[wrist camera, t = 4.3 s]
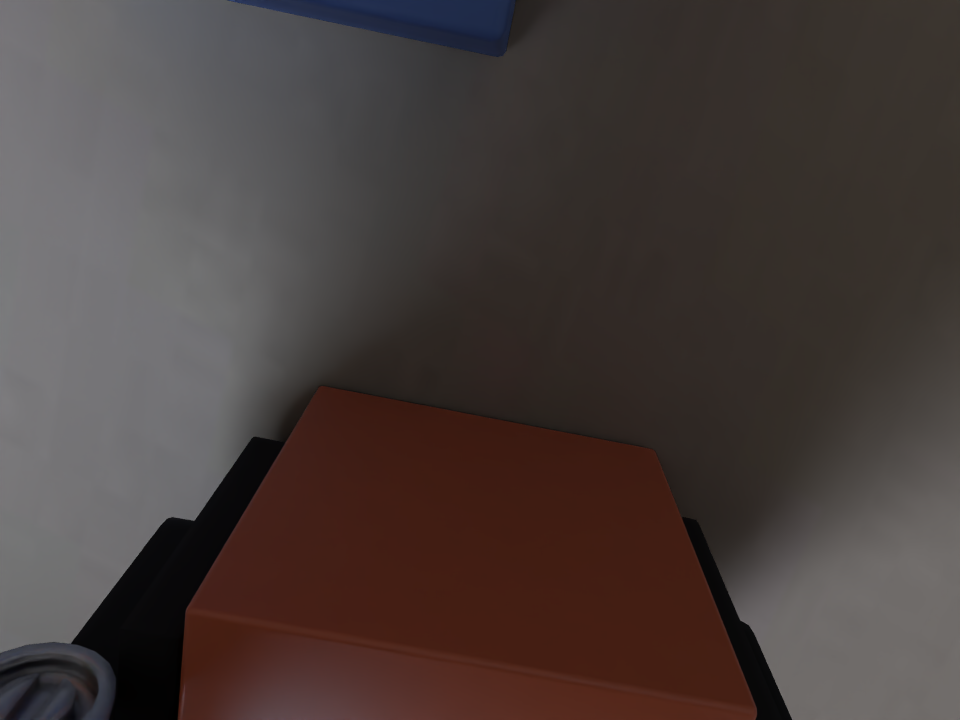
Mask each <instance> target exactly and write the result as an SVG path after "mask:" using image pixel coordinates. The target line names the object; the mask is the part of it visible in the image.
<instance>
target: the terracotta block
mask: <svg viewBox="0 0 960 720" xmlns="http://www.w3.org/2000/svg"><path fill="white" fill-rule="evenodd" d="M756 717H757V708H756V705H755V703H754V700H753V697H752V695H751V692H750V690H749V687H748V685H747V682H746V680H745V677H744V675H743V672H742V670H741V667H740V665H739V662H738V659H737V657H736V654H735V652H734V649H733V647H732V644H731V642H730V639H729V637H728V634H727V632H726V629H725V627H724V624H723V621H722V619H721V616H720V614H719V611H718V609H717V606H716V604H715V601H714V599H713V596H712V594H711V591H710V589H709V586H708V584H707V581H706V578H705V576H704V573H703V571H702V568H701V566H700V563H699V561H698V558H697V556H696V553H695V551H694V548H693V546H692V543H691V540H690V538H689V535H688V533H687V530H686V528H685V525H684V523H683V520H682V518H681V515H680V513H679V510H678V508H677V505H676V503H675V500H674V497H673V495H672V492H671V490H670V487H669V485H668V482H667V480H666V477H665V475H664V472H663V470H662V467H661V465H660V462H659V459H658V457H657V454H656V452H655V451H654V450H653V449H649V448H644V447H639V446H633V445H628V444H623V443H618V442H613V441H607V440H602V439H597V438H592V437H586V436H581V435H576V434H571V433H566V432H560V431H555V430H550V429H545V428H539V427H534V426H529V425H524V424H519V423H513V422H508V421H503V420H498V419H493V418H487V417H482V416H477V415H472V414H466V413H461V412H456V411H451V410H446V409H440V408H435V407H430V406H425V405H420V404H414V403H409V402H404V401H399V400H393V399H388V398H383V397H378V396H373V395H367V394H362V393H357V392H352V391H346V390H341V389H336V388H331V387H326V386H320V387H319V388H318V389H317V391H316V393H315V394H314V396H313V398H312V399H311V401H310V403H309V404H308V406H307V408H306V409H305V411H304V413H303V414H302V416H301V418H300V419H299V421H298V423H297V424H296V426H295V428H294V429H293V431H292V433H291V434H290V436H289V438H288V440H287V441H286V443H285V445H284V446H283V448H282V450H281V451H280V453H279V455H278V456H277V458H276V460H275V461H274V463H273V465H272V466H271V468H270V470H269V471H268V473H267V475H266V476H265V478H264V480H263V481H262V483H261V485H260V486H259V488H258V490H257V491H256V493H255V495H254V496H253V498H252V500H251V502H250V503H249V505H248V507H247V508H246V510H245V512H244V513H243V515H242V517H241V518H240V520H239V522H238V523H237V525H236V527H235V528H234V530H233V532H232V533H231V535H230V537H229V538H228V540H227V542H226V543H225V545H224V547H223V548H222V550H221V552H220V553H219V555H218V557H217V558H216V560H215V562H214V563H213V565H212V567H211V569H210V570H209V572H208V574H207V575H206V577H205V579H204V580H203V582H202V584H201V585H200V587H199V589H198V590H197V592H196V594H195V595H194V597H193V599H192V600H191V602H190V604H189V605H188V607H187V609H186V613H185V627H184V640H183V654H182V667H181V681H180V694H179V708H178V720H755V719H756Z"/></svg>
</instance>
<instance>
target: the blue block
mask: <svg viewBox="0 0 960 720" xmlns="http://www.w3.org/2000/svg"><path fill="white" fill-rule="evenodd" d="M228 1H233V2H238V3H242V4H247V5H252V6H257V7H261V8H266V9H271V10H276V11H281V12H285V13H290V14H295V15H300V16H304V17H309V18H314V19H319V20H323V21H328V22H333V23H338V24H343V25H347V26H352V27H357V28H362V29H366V30H371V31H376V32H381V33H385V34H390V35H395V36H400V37H405V38H409V39H414V40H419V41H424V42H428V43H433V44H438V45H443V46H447V47H452V48H457V49H462V50H467V51H471V52H476V53H481V54H486V55H490V56H495V57H500V56H503V55H504V54H505V52H506V49H507V44H508V39H509V33H510V28H511V23H512V18H513V13H514V7H515V2H516V0H228Z"/></svg>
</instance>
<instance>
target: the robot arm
mask: <svg viewBox="0 0 960 720" xmlns="http://www.w3.org/2000/svg"><path fill="white" fill-rule="evenodd" d="M285 443H286V442H281V441H275V440H270V439H265V438H259V437H253V438H252V439H251V440H250V442H249V443H248V445H247V446H246V448H245V449H244V451H243V452H242V453H241V455H240V456H239V458H238V459H237V461H236V462H235V463H234V465H233V466H232V468H231V469H230V471H229V472H228V474H227V475H226V476H225V478H224V479H223V481H222V482H221V484H220V485H219V487H218V488H217V489H216V491H215V492H214V494H213V495H212V497H211V498H210V500H209V501H208V502H207V504H206V505H205V507H204V508H203V510H202V511H201V512H200V514H199V515H198V517H197V518H196V520H195V521H191V520H185V519H180V518H174V517H171V518H168V519H167V520H166V521H165V522H164V523H163V524H162V525H161V526H160V527H159V529H158V530H157V531H156V532H155V534H154V535H153V536H152V538H151V539H150V540H149V542H148V543H147V544H146V546H145V547H144V548H143V550H142V551H141V552H140V553H139V555H138V556H137V557H136V559H135V560H134V561H133V563H132V564H131V565H130V567H129V568H128V569H127V571H126V572H125V573H124V574H123V576H122V577H121V578H120V580H119V581H118V582H117V584H116V585H115V586H114V588H113V589H112V590H111V592H110V593H109V594H108V595H107V597H106V598H105V599H104V601H103V602H102V603H101V605H100V606H99V607H98V609H97V610H96V611H95V613H94V614H93V615H92V616H91V618H90V619H89V620H88V622H87V623H86V624H85V626H84V627H83V628H82V630H81V631H80V632H79V634H78V635H77V636H76V637H75V639H74V640H73V641H72V643H71V644H67V643H57V642H50V643H40V644H30V645H25V646H22V647H19V648H15V649H12V650H8V651H5V652H2V653H0V720H178V708H179V694H180V681H181V667H182V654H183V640H184V627H185V613H186V609H187V607H188V605H189V604H190V602H191V600H192V599H193V597H194V595H195V594H196V592H197V590H198V589H199V587H200V585H201V584H202V582H203V580H204V579H205V577H206V575H207V574H208V572H209V570H210V569H211V567H212V565H213V563H214V562H215V560H216V558H217V557H218V555H219V553H220V552H221V550H222V548H223V547H224V545H225V543H226V542H227V540H228V538H229V537H230V535H231V533H232V532H233V530H234V528H235V527H236V525H237V523H238V522H239V520H240V518H241V517H242V515H243V513H244V512H245V510H246V508H247V507H248V505H249V503H250V502H251V500H252V498H253V496H254V495H255V493H256V491H257V490H258V488H259V486H260V485H261V483H262V481H263V480H264V478H265V476H266V475H267V473H268V471H269V470H270V468H271V466H272V465H273V463H274V461H275V460H276V458H277V456H278V455H279V453H280V451H281V450H282V448H283V446H284V445H285ZM681 518H682V520H683V523H684V525H685V528H686V530H687V533H688V535H689V538H690V540H691V543H692V546H693V548H694V551H695V553H696V556H697V558H698V561H699V563H700V566H701V568H702V571H703V573H704V576H705V578H706V581H707V584H708V586H709V589H710V591H711V594H712V596H713V599H714V601H715V604H716V606H717V609H718V611H719V614H720V616H721V619H722V621H723V624H724V627H725V629H726V632H727V634H728V637H729V639H730V642H731V644H732V647H733V649H734V652H735V654H736V657H737V659H738V662H739V665H740V667H741V670H742V672H743V675H744V677H745V680H746V682H747V685H748V687H749V690H750V692H751V695H752V697H753V700H754V703H755V705H756V708H757V717H756V719H755V720H792V718H791V716H790V714H789V712H788V709H787V707H786V705H785V703H784V700H783V698H782V696H781V694H780V691H779V689H778V687H777V685H776V682H775V680H774V678H773V675H772V673H771V671H770V669H769V666H768V664H767V662H766V660H765V657H764V655H763V653H762V651H761V648H760V646H759V644H758V642H757V639H756V637H755V635H754V633H753V631H752V630H751V628H750V626H749V625H747V624H746V623H744V622H741V621H740V619H739V617H738V615H737V612H736V610H735V608H734V605H733V603H732V601H731V598H730V596H729V594H728V591H727V589H726V587H725V584H724V582H723V580H722V577H721V575H720V573H719V570H718V568H717V566H716V563H715V561H714V559H713V556H712V554H711V551H710V549H709V547H708V544H707V542H706V540H705V537H704V535H703V533H702V530H701V528H700V526H699V524H698V522H697V521H696V520H694V519H690V518H684V517H681Z"/></svg>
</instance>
